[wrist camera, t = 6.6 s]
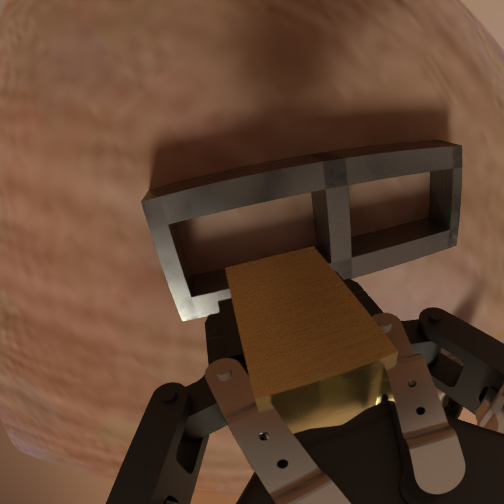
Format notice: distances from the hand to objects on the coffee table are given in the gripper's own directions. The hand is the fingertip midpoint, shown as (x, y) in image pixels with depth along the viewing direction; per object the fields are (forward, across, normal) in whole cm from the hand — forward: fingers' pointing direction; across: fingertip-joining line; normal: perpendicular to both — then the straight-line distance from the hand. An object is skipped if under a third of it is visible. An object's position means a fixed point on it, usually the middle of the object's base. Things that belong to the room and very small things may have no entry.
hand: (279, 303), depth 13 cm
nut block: (+1, 0, 0) cm, 1 cm away
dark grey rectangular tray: (+10, -6, 0) cm, 11 cm away
